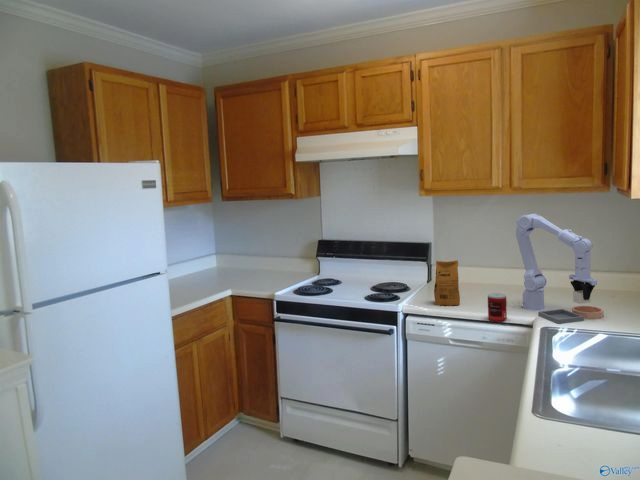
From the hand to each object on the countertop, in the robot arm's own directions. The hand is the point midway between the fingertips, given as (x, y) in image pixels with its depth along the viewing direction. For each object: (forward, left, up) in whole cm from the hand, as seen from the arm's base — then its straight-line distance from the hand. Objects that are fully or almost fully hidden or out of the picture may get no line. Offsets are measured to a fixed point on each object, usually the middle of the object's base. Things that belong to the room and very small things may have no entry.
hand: (582, 298), depth 206 cm
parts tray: (0, -11, -8) cm, 13 cm away
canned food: (-10, -34, -8) cm, 37 cm away
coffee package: (-43, -42, -8) cm, 61 cm away
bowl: (0, +2, -8) cm, 8 cm away
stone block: (0, -1, -2) cm, 2 cm away
